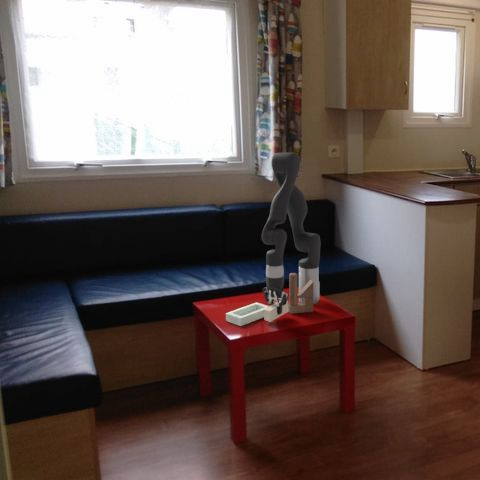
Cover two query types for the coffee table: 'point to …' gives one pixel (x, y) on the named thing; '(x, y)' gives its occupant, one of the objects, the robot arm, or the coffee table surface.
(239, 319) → the white rectangular tray
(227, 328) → the coffee table surface
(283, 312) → the cream rectangular block
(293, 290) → the wooden bracket
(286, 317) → the coffee table surface
